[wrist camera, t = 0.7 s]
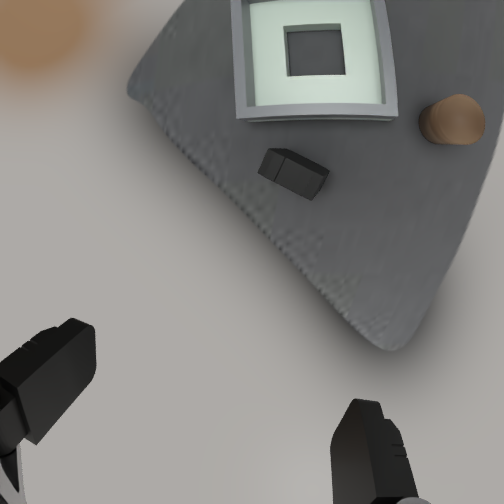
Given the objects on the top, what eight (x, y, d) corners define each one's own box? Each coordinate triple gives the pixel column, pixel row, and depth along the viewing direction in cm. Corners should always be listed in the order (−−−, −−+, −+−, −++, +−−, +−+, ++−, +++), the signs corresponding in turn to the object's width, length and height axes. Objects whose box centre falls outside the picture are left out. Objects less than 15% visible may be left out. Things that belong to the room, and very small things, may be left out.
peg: (417, 103, 26) (439, 91, 19) (453, 107, 25) (483, 97, 18) (419, 142, 27) (442, 141, 20) (454, 145, 26) (485, 147, 19)
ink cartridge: (277, 167, 32) (254, 173, 25) (286, 148, 32) (266, 148, 24) (320, 190, 32) (310, 202, 25) (330, 170, 31) (323, 177, 24)
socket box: (245, 4, 27) (229, -14, 23) (376, -3, 23) (379, -24, 19) (252, 122, 32) (236, 118, 27) (390, 120, 28) (398, 116, 23)
